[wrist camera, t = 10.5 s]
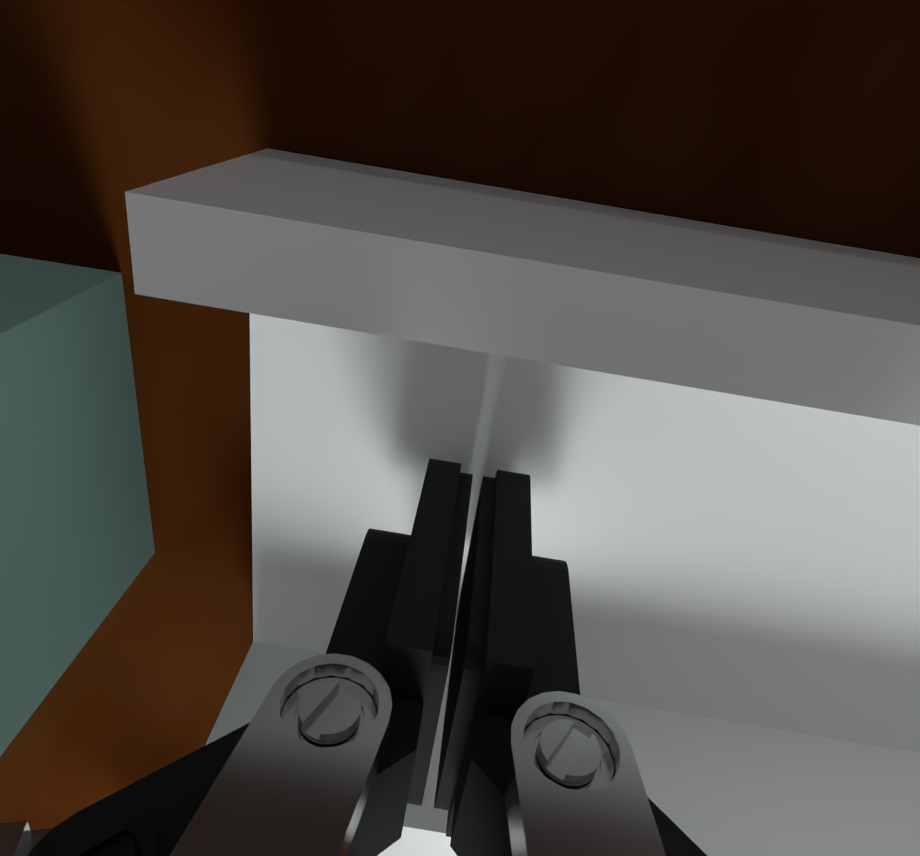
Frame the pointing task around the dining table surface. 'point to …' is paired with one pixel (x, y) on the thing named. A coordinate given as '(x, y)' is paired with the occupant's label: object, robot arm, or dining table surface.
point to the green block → (63, 472)
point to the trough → (594, 463)
